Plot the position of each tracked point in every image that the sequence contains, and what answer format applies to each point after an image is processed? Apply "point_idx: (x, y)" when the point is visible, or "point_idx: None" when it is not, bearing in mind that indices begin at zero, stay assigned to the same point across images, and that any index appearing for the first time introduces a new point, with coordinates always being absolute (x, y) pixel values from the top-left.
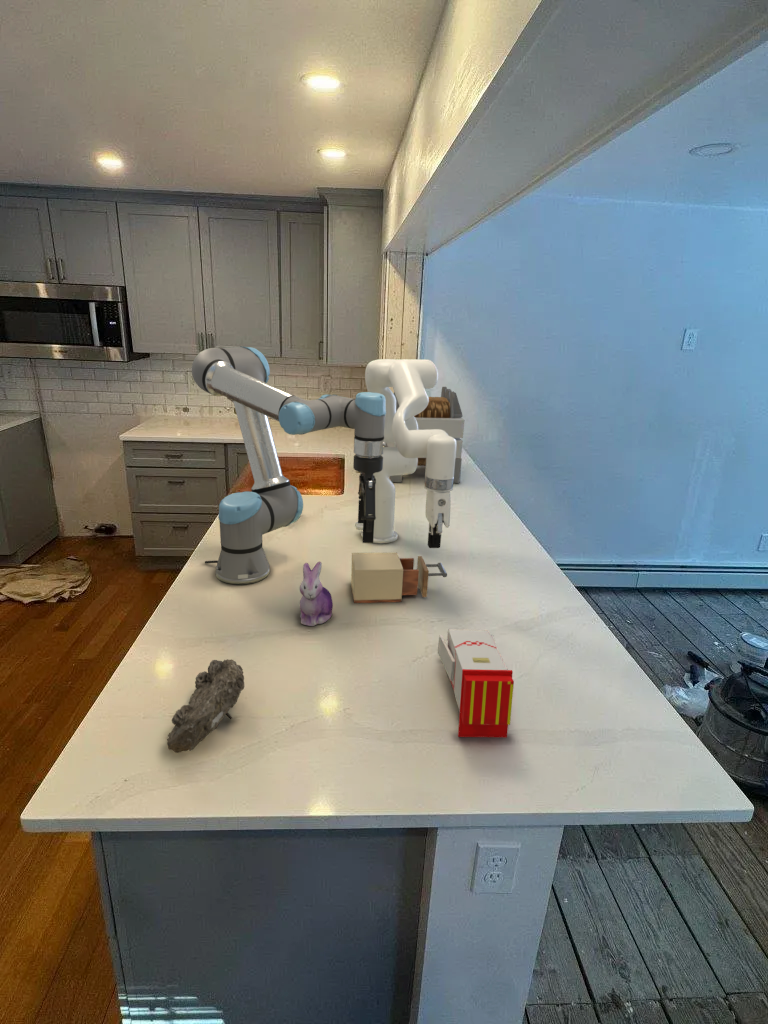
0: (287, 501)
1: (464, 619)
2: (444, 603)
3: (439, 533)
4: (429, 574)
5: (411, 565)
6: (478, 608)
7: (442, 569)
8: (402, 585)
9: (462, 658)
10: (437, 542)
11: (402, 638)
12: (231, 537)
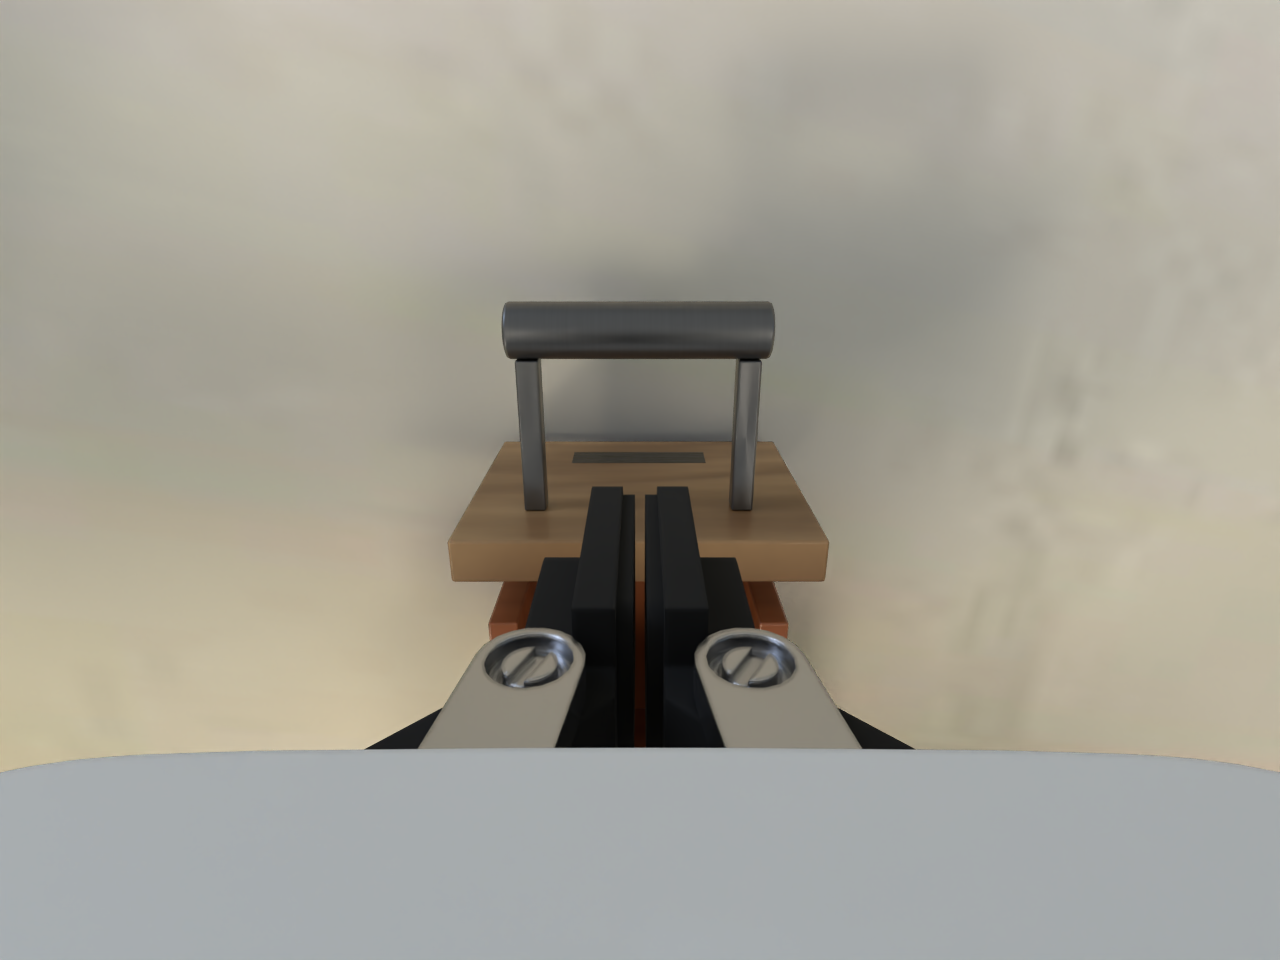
0: None
1: (1104, 204)
2: (834, 306)
3: (869, 734)
4: (752, 487)
5: (529, 604)
6: (969, 14)
7: (686, 343)
8: None
9: None
10: (739, 593)
11: (1188, 650)
12: None
